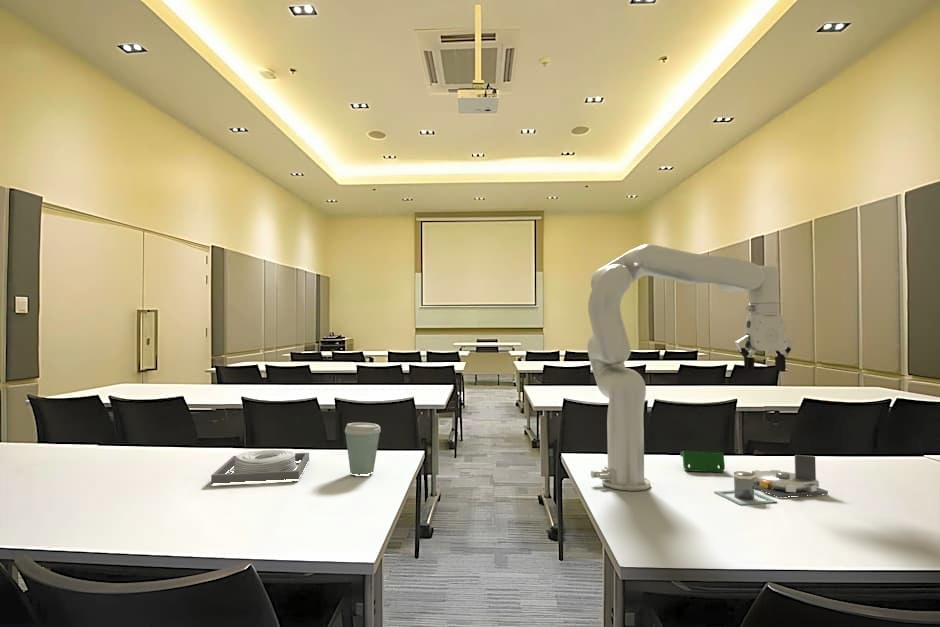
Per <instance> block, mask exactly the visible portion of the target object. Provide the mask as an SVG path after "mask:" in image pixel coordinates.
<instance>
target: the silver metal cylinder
mask: <svg viewBox="0 0 940 627" xmlns="http://www.w3.org/2000/svg"><path fill="white" fill-rule="evenodd" d="M733 481H734V482H733V484H734V485H733V486H734V489H733V490H734V493H733V494H734V499H737V498H738V499H737V500H740V499H741V500H742V501H747V500H750V501H754V500H755V495H754V492H755V488H754V474H752V472H750V471H749V472H748V471H742V470H741V471H740V470H739V471H738V470H737V471H733ZM753 499H754V500H753ZM741 500H740V501H741Z"/></svg>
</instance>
